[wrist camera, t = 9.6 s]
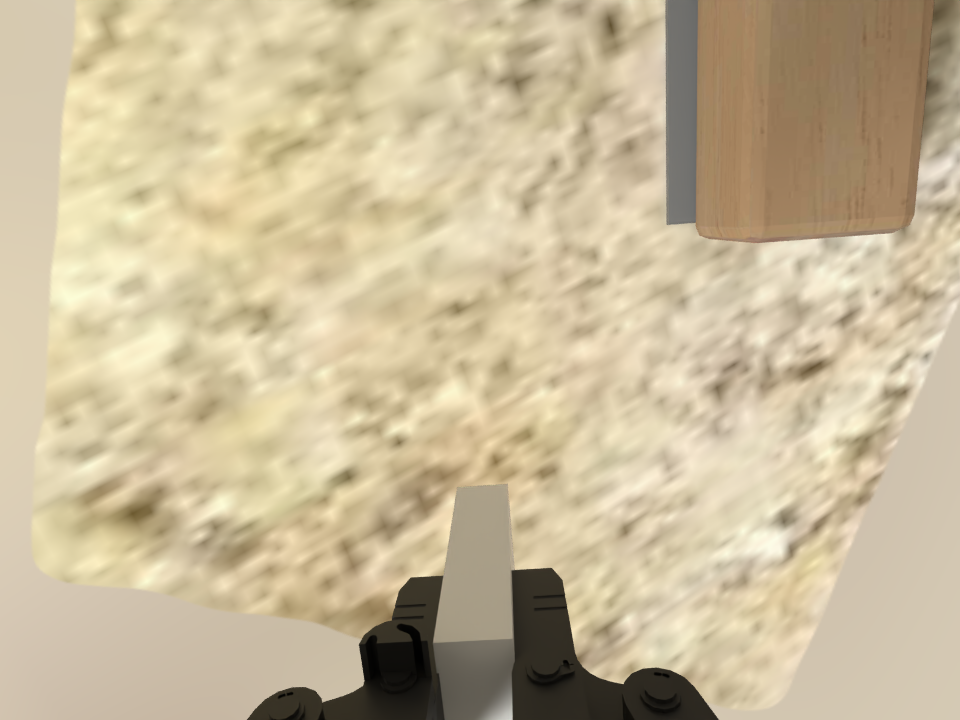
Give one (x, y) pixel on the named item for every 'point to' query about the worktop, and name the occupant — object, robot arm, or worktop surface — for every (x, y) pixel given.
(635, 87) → the worktop surface
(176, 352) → the worktop surface
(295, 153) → the worktop surface
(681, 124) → the mat
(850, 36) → the wooden block
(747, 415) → the worktop surface
